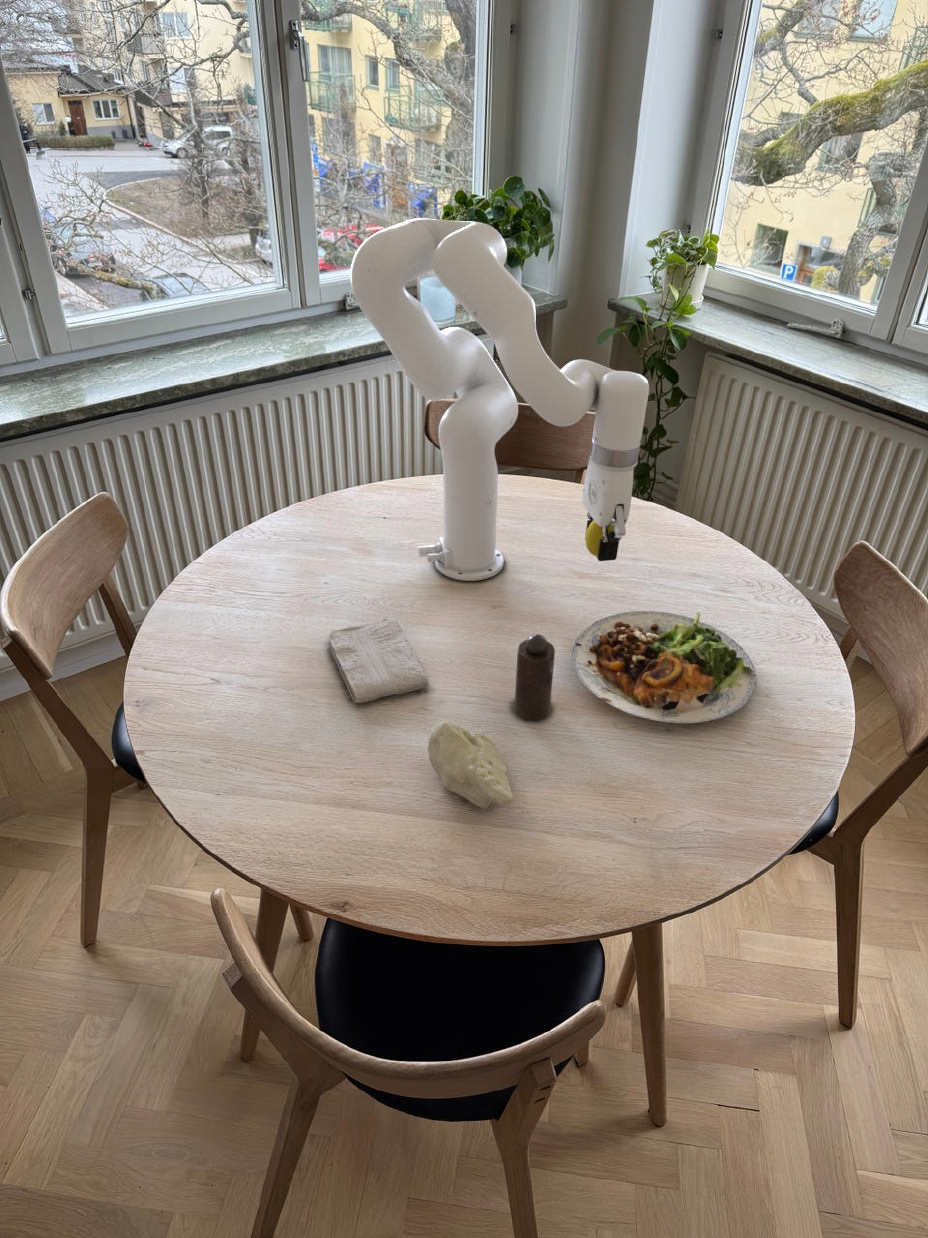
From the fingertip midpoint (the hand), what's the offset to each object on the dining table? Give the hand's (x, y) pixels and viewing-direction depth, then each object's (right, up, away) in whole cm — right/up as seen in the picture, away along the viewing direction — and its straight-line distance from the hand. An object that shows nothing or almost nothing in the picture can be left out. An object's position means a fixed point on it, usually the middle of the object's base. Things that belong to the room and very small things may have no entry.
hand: (600, 549), depth 153 cm
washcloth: (-37, -19, -12) cm, 43 cm away
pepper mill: (-13, -25, -20) cm, 35 cm away
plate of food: (+7, -21, -13) cm, 25 cm away
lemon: (0, -2, +1) cm, 2 cm away
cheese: (-21, -35, -34) cm, 53 cm away
